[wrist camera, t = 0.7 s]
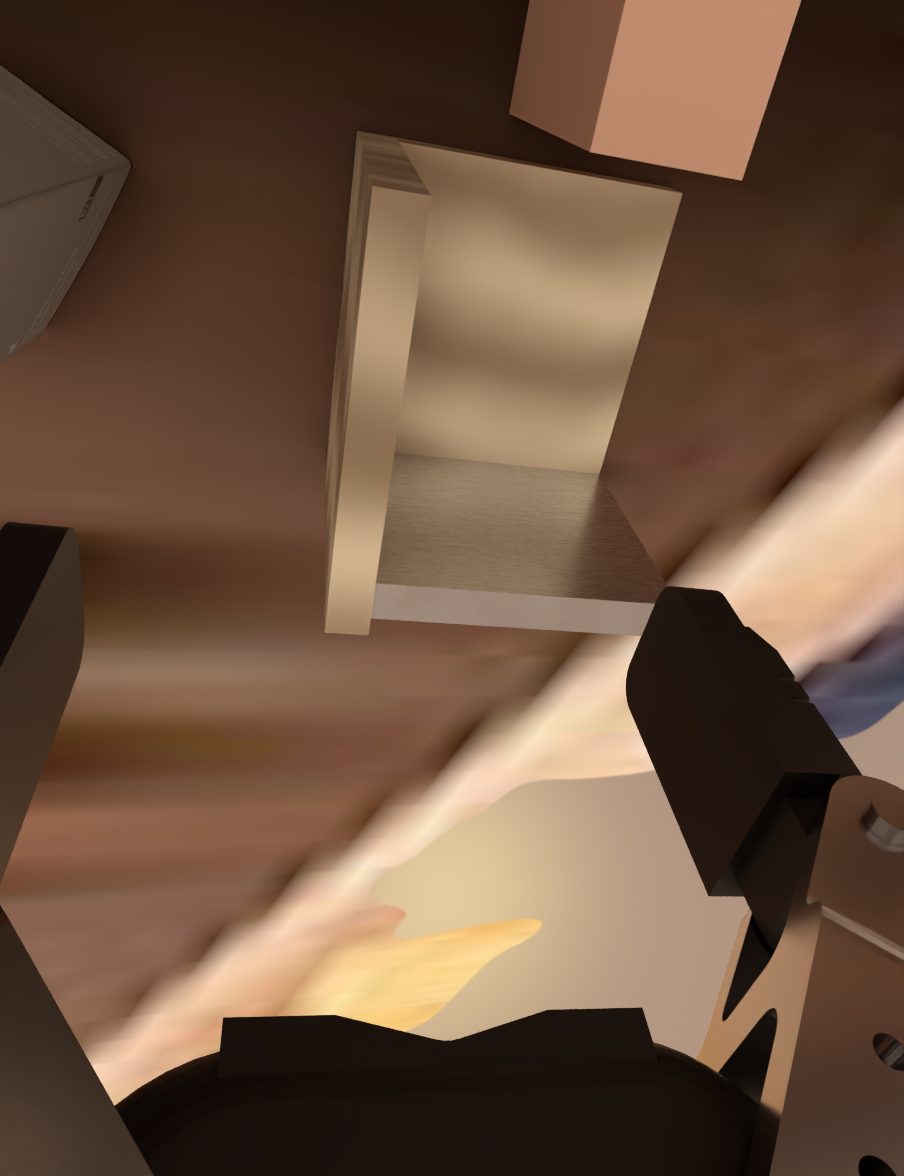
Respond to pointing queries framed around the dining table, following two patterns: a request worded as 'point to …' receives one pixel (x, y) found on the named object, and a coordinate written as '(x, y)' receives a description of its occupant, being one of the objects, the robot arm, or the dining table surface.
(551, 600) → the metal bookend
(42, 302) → the skincare box
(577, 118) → the terracotta book
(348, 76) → the dining table surface
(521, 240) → the plywood shelf
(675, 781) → the robot arm
